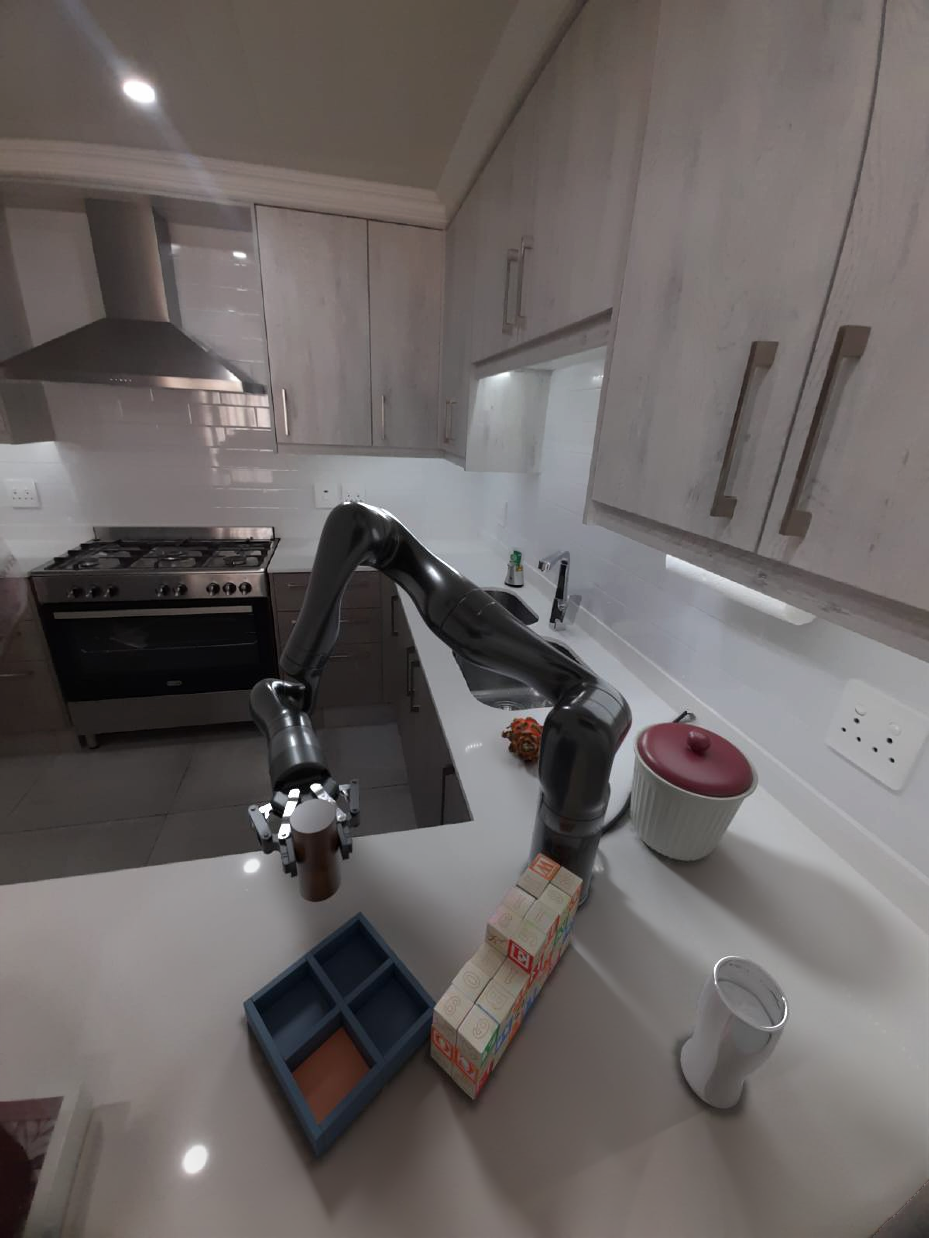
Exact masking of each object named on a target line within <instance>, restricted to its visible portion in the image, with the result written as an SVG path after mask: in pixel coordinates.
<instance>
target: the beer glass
mask: <svg viewBox="0 0 929 1238" xmlns="http://www.w3.org/2000/svg"><path fill="white" fill-rule="evenodd" d="M789 1018H790V1006H789V1002H788V999H787V997H786V995H785V992H784V991H783V989H782V987H781V986H780V984H779V982H777V980H776V979H775V978H774V977H773V976H772V975H771V974H770V973H769V972H768V971H767V970H766V969H764V968H763V967H762V966H760V965H759V964H758V963H756V962H754V961H752V960H750V959H748V958H746V957H743V956H737V955H728V956H724V957H722V958H720V959H719V960H717V962H716V963H715V965H714V967H713V969H712V971H711V972H710V974H709V976H708V977H707V978H706V980H705V983H704V985H703V986H702V988H701V991H700V994H699V997H698V1000H697V1005H696V1011H695V1020H694V1030H693V1034H692V1036H691V1037H690V1038H689V1039H687V1041H686V1042H685V1043H684V1044H683V1045H682V1047H681V1050H680V1058H679V1059H680V1067H681V1071H682V1074H683V1077H684V1078H685V1080H686V1082H687V1084H688V1086H689V1087H690V1088H691V1090H692V1091H693V1092H694V1093H695V1095H696V1096H698V1097H699V1098H700V1099H701V1100H702V1101H703V1102H705V1103H706V1104H708V1105H710V1106H711V1107H714V1108H715V1109H721V1110H722V1109H723V1110H725V1109H731V1108H732V1107H734V1106H735V1105H736V1104H737V1103H739V1100H740V1098H741V1095H742V1091H743V1086H744V1085H743V1084H744V1080H745V1079H746V1078H747V1077H749V1076H750V1075H752V1074H753V1073H754V1072H756V1071H757V1070H758V1069H760V1068H761V1067H762V1066H763V1065H764V1064H765V1063H766V1062H767V1061H769V1059H770V1058H771V1056H772V1055H773V1053H774V1052H775V1050H776V1049H777V1047H778V1045H779V1042H781V1041H780V1040H781V1038H782V1035H783V1032H784V1030H785V1027H786V1025H787V1024H788V1021H789Z"/></svg>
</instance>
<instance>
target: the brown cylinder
mask: <svg viewBox="0 0 929 1238" xmlns="http://www.w3.org/2000/svg"><path fill="white" fill-rule="evenodd" d="M290 828H291V836H292V844H293V848H294V853H295V859H296V865H297V873H298V876H296V881H297V890H298V893H299V895H300V897H301V898H302V899H304V900H305V901H307V902H311V903H319V902H324V901H326V900H328V899H331V898H332V897H333V896H334V895H335V894H337V892H338V890H339V889H340V887H341V884H342V868H341V857H340V856H341V853H340V849H339V840H338V827H337V814H336V808H335V806H334V805H333V804H332V803H331V802H330V801H328V800H325V799H311V800H308V801H305V802H303V803H301V804H300V805H298V806H297V807H296V808H295V809H294V810H293V812H292V813H291V815H290Z"/></svg>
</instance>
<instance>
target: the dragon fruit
mask: <svg viewBox="0 0 929 1238" xmlns="http://www.w3.org/2000/svg"><path fill="white" fill-rule="evenodd" d="M542 728H543V725H541V724H540V723H539V722H538V721H537V719H535V718H534V717H532V716H526V717H525V718H523V717H519V718H517V717H514V718H513V720H512V721H511V722H510V725H508V726H506V727H505V729H506V731H505V730H502V731H501V738H503V739H507V740H508V741H510V743H509V745H508V747H507V749H508V752H509V753H510V754H511V753H512V754H517V757H518V759H519V760H523V761H524V760H525V761H526V760H527V761H531V762H532V763H538V760H539V750H540V740H541V733H542ZM508 729H510V730H508Z"/></svg>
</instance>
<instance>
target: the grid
mask: <svg viewBox="0 0 929 1238" xmlns="http://www.w3.org/2000/svg"><path fill="white" fill-rule="evenodd" d="M437 1003H438V1002H436V1001H435V999H434V998H433V997H432V996H431V995H430V994H429V993H428V991H427V990H426V989H425V988H424V986H423V985H422V984H421V983H420V981H419V980H418V979H417V978H416V977H415V975H414V974H413V973H412V972H411V971H410V969H409V968H408V967H407V966H406V965H405V963H404V962H403V961H402V960H401V958H400V957H399V956H398V954H396V952H395V951H394V950H393V949H392V948H391V947H390V945H389V944H388V943H387V942H386V941H385V939H384V938H383V937H382V936H381V934H380V933H379V931H377V929H376V928H375V927H374V926H373V924H371V922H370V921H369V920H368V919H367V918H366V916H365V915H364V914H363V913H362V912H361V911H359V912H357V913H356V914H355V915H353V916H352V917H351V918H350V919H348V920H347V921H345V922H344V923H343V924H342V925H341V926H339V927H338V928H337V929H336V930H334V931H333V932H332V933H330V934H329V935H328V936H326V937H325V938H324V939H323V940H322V941H320V942H319V943H318V944H316V945H315V946H314V947H312V948H311V949H310V950H308V952H306V953H305V954H304V955H303V956H301V957H300V958H298V959H297V960H296V961H294V962H293V963H292V964H291V965H290V966H288V967H287V968H286V969H284V970H283V971H282V972H280V974H278V975H277V976H276V977H274V978H273V979H272V980H271V981H269V982H268V983H266V984H265V985H264V986H262V987H261V988H260V989H259V990H257V992H255V993H254V994H252V995H251V996H250V997H249V998H247V999H246V1000H244V1002H243V1003H242V1004H243V1008H244V1014H245V1017H246V1022H247V1023H248V1025H249V1027H250V1030H251V1032H252V1033H253V1035H254V1037H255V1039H256V1041H257V1043H258V1045H259V1047H260V1049H261V1051H262V1053H263V1055H264V1056H265V1059H266V1060H267V1063H268V1064H269V1066H270V1068H271V1070H272V1072H273V1074H274V1076H275V1078H276V1080H277V1082H278V1084H279V1085H280V1087H281V1089H282V1091H283V1093H284V1095H285V1098H286V1099H287V1101H288V1103H289V1105H290V1107H291V1109H292V1110H293V1113H294V1115H295V1117H296V1119H297V1120H298V1122H299V1124H300V1127H301V1129H302V1131H303V1133H304V1134H305V1136H306V1138H307V1140H308V1142H309V1145H310V1146H311V1148H312V1150H313V1152H314V1154H315V1156H316V1158H317V1159H319V1158H320V1157H321V1156H322V1155H323V1154H324V1152H325V1151H326V1150H327V1149H328V1148H329V1147H330V1146H331V1145H332V1144H333V1142H335V1141H336V1139H337V1138H338V1137H339V1136H340V1135H341V1134H342V1133H343V1131H345V1129H346V1128H347V1127H348V1126H349V1125H350V1124H351V1123H352V1122H353V1120H354V1119H356V1117H357V1116H358V1115H359V1114H360V1113H361V1112H362V1110H364V1108H365V1107H366V1106H367V1105H368V1104H369V1103H370V1101H372V1099H373V1098H374V1097H375V1096H376V1095H377V1094H378V1092H380V1090H381V1089H382V1088H383V1087H384V1086H385V1085H386V1084H387V1083H388V1081H389V1080H391V1079H392V1078H393V1076H394V1075H395V1074H396V1073H397V1072H398V1071H399V1069H400V1068H401V1067H402V1066H403V1065H404V1064H405V1063H406V1062H407V1061H408V1060H409V1058H410V1057H411V1056H412V1055H413V1054H414V1053H415V1052H416V1050H417V1049H419V1048H420V1046H421V1045H422V1044H423V1043H424V1042H425V1041H426V1040H427V1039H428V1037H430V1036H431V1028H432V1024H433V1012H434V1007H435V1006H436V1004H437Z"/></svg>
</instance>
